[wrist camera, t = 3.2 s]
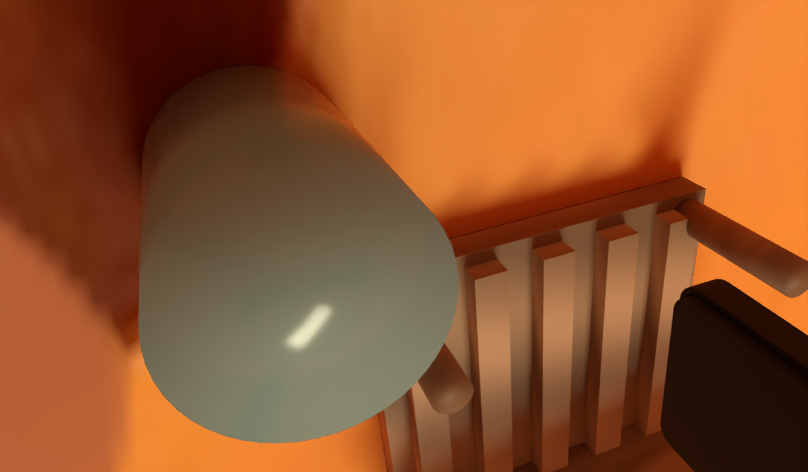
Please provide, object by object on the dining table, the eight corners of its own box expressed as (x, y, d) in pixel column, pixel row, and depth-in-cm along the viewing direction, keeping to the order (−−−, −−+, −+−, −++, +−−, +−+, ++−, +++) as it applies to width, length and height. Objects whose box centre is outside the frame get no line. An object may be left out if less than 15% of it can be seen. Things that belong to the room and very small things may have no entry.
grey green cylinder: (111, 87, 17) (88, 214, 10) (336, 47, 18) (448, 134, 11) (174, 282, 20) (189, 481, 13) (364, 233, 21) (465, 389, 14)
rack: (354, 264, 21) (420, 381, 16) (682, 176, 25) (826, 251, 19) (392, 506, 27) (451, 649, 22) (654, 410, 30) (759, 515, 25)
